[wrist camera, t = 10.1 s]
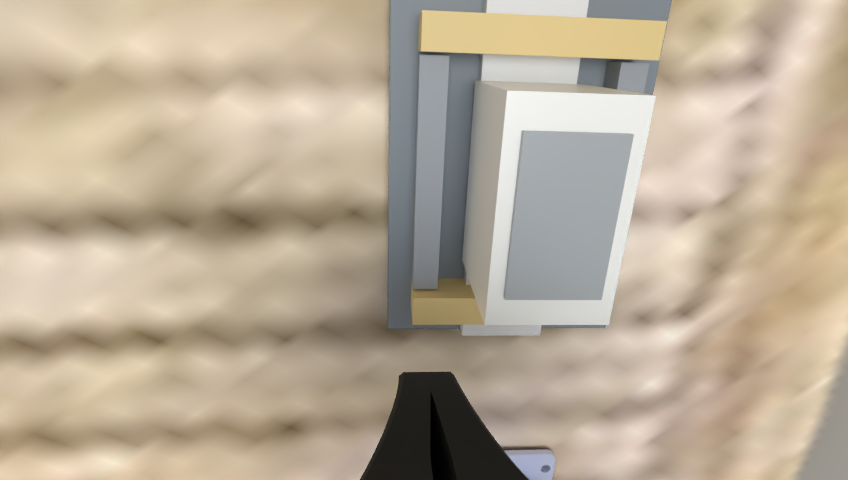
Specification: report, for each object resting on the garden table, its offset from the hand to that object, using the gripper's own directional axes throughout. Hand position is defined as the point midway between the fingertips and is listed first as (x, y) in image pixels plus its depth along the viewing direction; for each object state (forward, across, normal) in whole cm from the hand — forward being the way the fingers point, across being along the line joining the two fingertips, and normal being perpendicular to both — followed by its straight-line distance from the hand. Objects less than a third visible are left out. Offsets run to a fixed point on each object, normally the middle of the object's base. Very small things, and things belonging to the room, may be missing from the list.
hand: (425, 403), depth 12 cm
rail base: (+9, -4, -4) cm, 11 cm away
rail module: (+8, -4, -4) cm, 10 cm away
